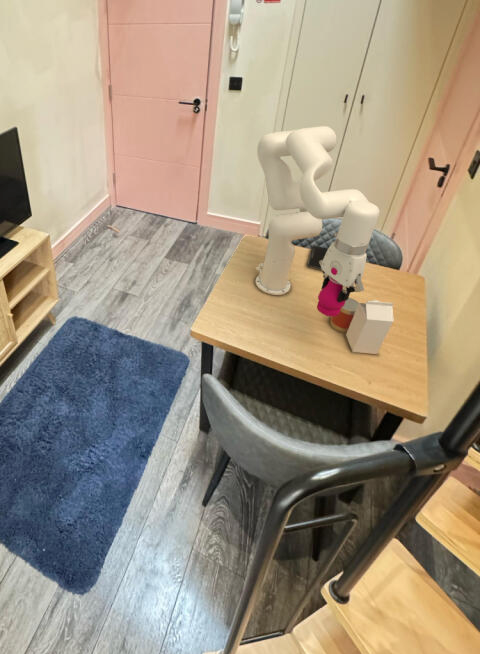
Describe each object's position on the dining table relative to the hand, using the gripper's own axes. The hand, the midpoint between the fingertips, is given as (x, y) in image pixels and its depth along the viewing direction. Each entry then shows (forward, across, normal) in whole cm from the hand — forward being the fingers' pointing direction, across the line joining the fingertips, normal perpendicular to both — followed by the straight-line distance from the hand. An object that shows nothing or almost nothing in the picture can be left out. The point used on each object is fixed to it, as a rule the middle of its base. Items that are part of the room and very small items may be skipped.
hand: (334, 293), depth 119 cm
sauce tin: (+22, -4, +13) cm, 26 cm away
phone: (+21, -35, +34) cm, 53 cm away
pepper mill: (+7, 0, 0) cm, 7 cm away
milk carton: (+22, +6, +12) cm, 26 cm away
